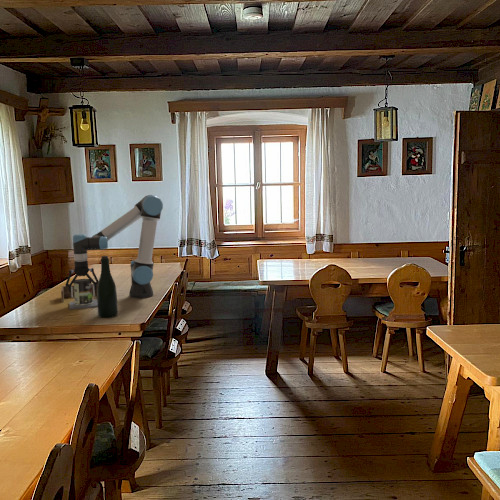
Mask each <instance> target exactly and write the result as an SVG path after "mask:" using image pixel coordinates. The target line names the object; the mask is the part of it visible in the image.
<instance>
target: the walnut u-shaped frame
mask: <svg viewBox="0 0 500 500" xmlns="http://www.w3.org/2000/svg"><path fill="white" fill-rule="evenodd" d="M91 285H92V296H93V285H94V284H93V283H91ZM97 286H98V284H97V285H96V290H94V291H95V296H97ZM72 289H73V298H74V285H72ZM60 292H61V293H60V295H61V303H64V301H65V298H72V296H71V292H69V287H68V286H65V285H64V286H61V290H60Z"/></svg>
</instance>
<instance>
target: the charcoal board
mask: <svg viewBox="0 0 500 500" xmlns="http://www.w3.org/2000/svg"><path fill="white" fill-rule="evenodd" d="M92 301H93V303H92V304H89V305H75V300H74V301H69V305H68V306H69V307H68V308H69V310H80V309H81V310H82V309H88V308H89V309H91V308H98V303H97V299H92Z"/></svg>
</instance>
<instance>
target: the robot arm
mask: <svg viewBox="0 0 500 500" xmlns="http://www.w3.org/2000/svg"><path fill="white" fill-rule="evenodd" d="M163 208H164V204H163V201H162V199H161V198H160V197H159V196H158V195H153V194H148V195H146V196H144V197H143V198H141V199H140V200H139V201H138V202H137V203H136V204H134V206H133V208H131V209H130V210H129V211H127V212H125V213H124V214H123V215H121V216H120V217H119V218H117V219H115V220H114V221H113V222H111V223H110V224H108V225H107V226H106V227H104V228H103V229H101V230H100V231H99V232H97V233H95V234H93V235H92V236H90V237H89V236H87V235H86V233H85V234H84V233H78V234H77V233H76V234H73V236H72V247H73V248H72V249H73V260H74V268H73V269H69V271H68V277H67V278H66V283H65V285H64V286H68V287H69V292H71V296H72V297H71V299H73V298H74V297H73V289H72V286H73V285H74V282H73V281H75V280H77V278H78V277H87V279H90V280H91V284H94V285H93V295H92V297H95V296H96V295H95V291H94V290H96V285H97V284H98V282H99V279H98V278H97V275H96V272H95V271H94V270H95V269H94V267H92V268H89V261H88V251H91V250H92V251H95V250H98V251H99V250H107V249H108V248H109V244H108V243H109V241H110V240H111V239H113V238H115V237H116V236H117V235H118V234H120V233H121V232H123V231H124V230H126V229H127V228H129V227H130V226H131V225H133V224H134V223H136V222H137V221H139V220H141V219H142V223H141V228H140V229H141V230H140V237H139V245H138V251H137V258H136V259H134V260H131V261H130V264H129V266H130V277H131V278H130V280H131V285H130V288H129V298H132V299H133V298H134V299H144V298H150V297H153V296H154V290H153V288H152V284H151V281H152V280H153V277H154V262H153V254H154V253H153V252H154V246H155V245H154V244H155V239H156V233H157V232H156V231H157V224H158V221H160V219H161V213H162V210H163ZM89 271H90V273H92V276H93V278H92V277H91V275H89ZM74 273H75V275H74V277H73V278H72V274H74ZM71 278H72V279H71ZM70 279H71V280H70Z"/></svg>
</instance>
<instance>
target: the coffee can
mask: <svg viewBox="0 0 500 500" xmlns="http://www.w3.org/2000/svg"><path fill="white" fill-rule="evenodd" d="M73 282H74V283H73V286H74V297H73V298H74V301H75V305H89V304H92V303H93V301H92V300H93V295H92V285H91V284H92V282H91V280H90V279H89V278H79V279H76V280H75V281H73Z"/></svg>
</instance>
